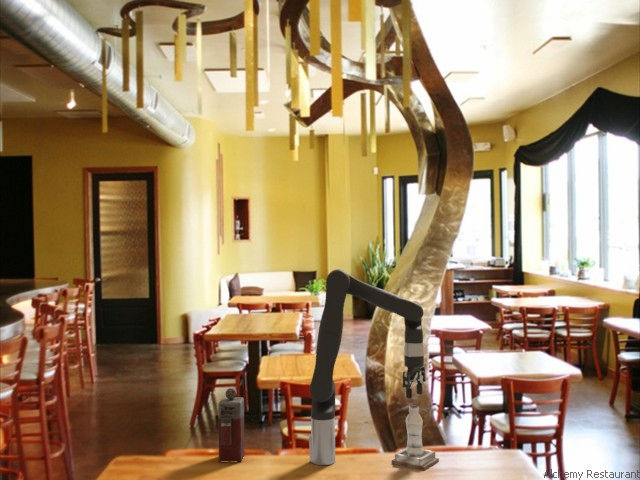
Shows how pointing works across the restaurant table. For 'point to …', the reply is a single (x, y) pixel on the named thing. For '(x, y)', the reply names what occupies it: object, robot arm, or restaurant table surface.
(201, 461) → the restaurant table surface
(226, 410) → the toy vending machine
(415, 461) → the socket board
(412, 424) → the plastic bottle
